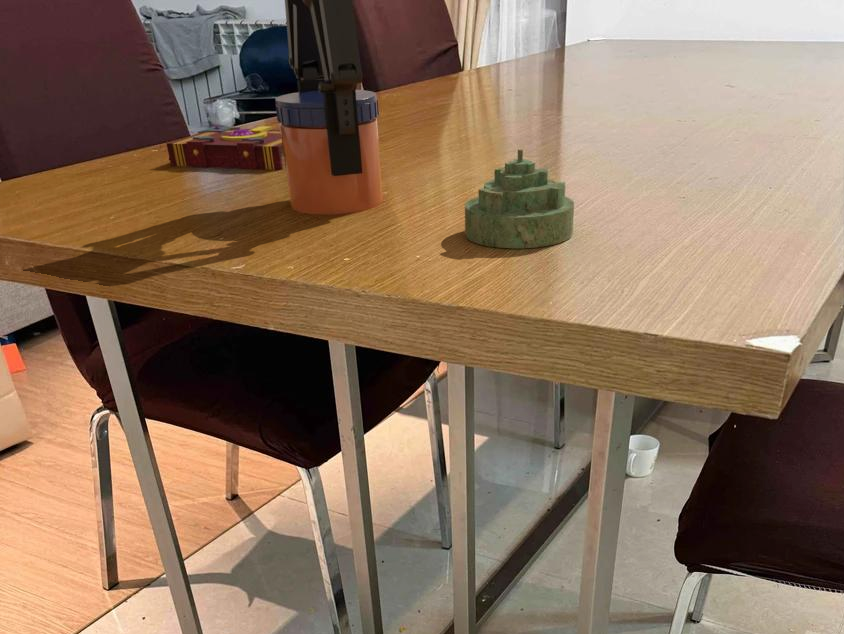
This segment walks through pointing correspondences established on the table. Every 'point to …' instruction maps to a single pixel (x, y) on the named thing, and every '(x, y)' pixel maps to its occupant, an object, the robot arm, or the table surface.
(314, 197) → the jar
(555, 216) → the decorative artifact
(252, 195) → the table surface
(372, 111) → the lid
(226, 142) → the decorative book
